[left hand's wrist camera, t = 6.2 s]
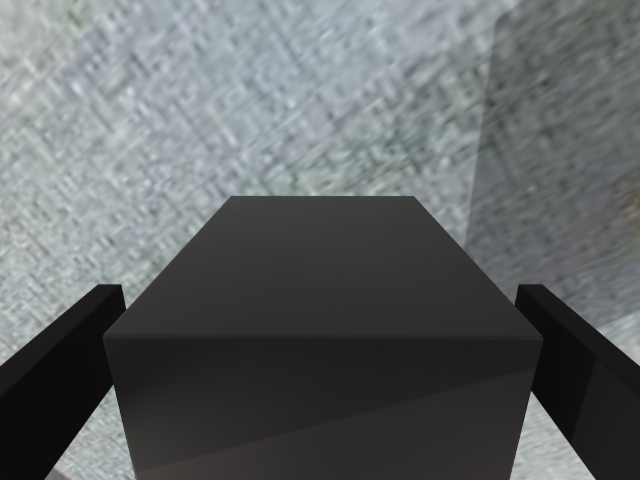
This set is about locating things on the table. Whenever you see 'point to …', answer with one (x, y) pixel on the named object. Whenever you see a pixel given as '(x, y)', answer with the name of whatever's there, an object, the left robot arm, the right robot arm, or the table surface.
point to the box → (322, 350)
